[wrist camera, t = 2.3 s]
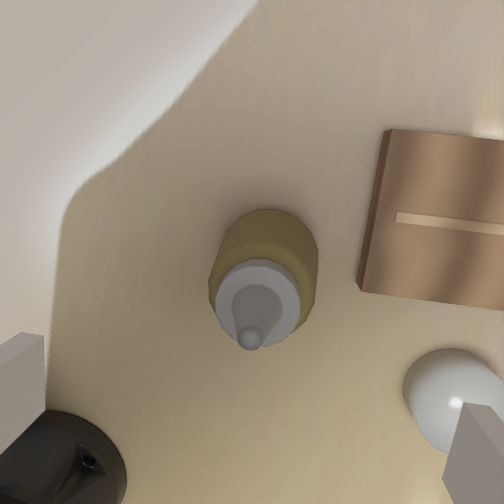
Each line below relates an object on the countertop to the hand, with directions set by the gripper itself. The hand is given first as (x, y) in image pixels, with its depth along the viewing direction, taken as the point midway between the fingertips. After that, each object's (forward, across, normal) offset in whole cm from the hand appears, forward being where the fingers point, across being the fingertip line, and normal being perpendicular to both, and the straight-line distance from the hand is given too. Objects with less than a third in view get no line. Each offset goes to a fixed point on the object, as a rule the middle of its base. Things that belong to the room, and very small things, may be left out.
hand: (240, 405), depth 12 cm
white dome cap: (+23, +18, -11) cm, 31 cm away
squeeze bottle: (+23, 0, 0) cm, 23 cm away
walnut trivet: (+23, +14, +4) cm, 27 cm away
